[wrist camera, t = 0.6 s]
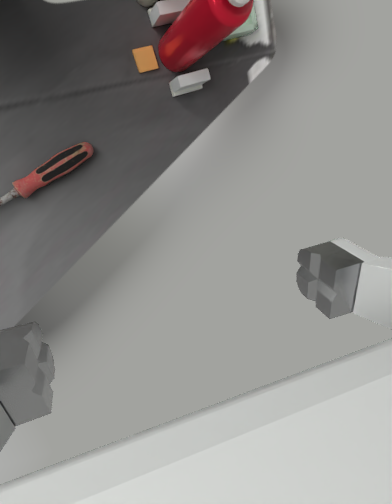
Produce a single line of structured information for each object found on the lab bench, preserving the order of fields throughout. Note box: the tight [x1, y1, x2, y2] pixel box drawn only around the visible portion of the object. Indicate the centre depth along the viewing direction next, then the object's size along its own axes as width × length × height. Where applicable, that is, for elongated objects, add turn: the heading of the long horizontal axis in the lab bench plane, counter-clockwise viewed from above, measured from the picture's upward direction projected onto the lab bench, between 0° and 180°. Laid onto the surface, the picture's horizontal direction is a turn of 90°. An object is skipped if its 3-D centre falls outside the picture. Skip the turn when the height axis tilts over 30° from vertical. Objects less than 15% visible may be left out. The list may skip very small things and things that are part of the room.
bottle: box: [158, 0, 253, 72], centre depth 39 cm, size 5×5×20 cm
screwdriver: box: [0, 142, 93, 206], centre depth 43 cm, size 25×3×3 cm, turn 121°
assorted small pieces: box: [132, 0, 258, 97], centre depth 44 cm, size 16×20×8 cm
